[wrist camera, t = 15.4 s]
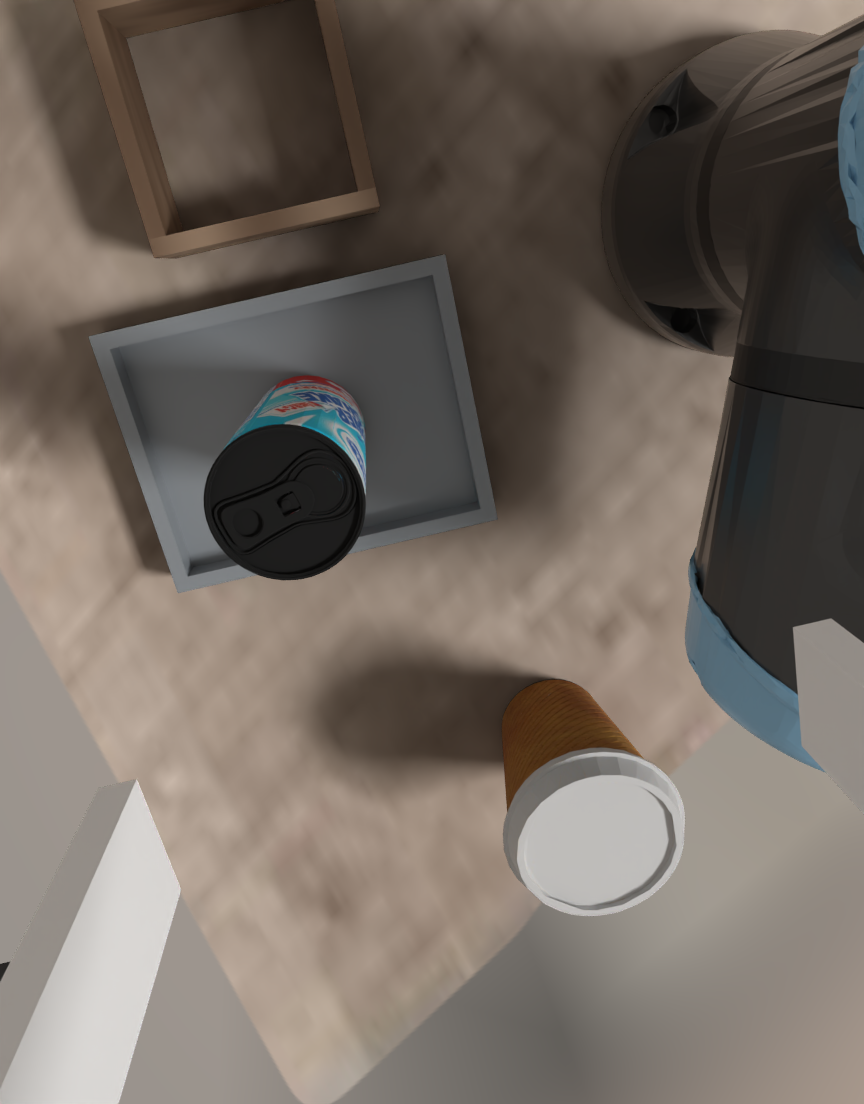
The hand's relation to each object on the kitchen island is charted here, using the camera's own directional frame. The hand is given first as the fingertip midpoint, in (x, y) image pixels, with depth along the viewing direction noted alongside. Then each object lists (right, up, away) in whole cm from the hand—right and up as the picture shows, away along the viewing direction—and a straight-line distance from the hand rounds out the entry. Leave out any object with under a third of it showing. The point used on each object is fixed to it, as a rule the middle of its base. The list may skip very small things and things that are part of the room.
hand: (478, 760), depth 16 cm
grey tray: (-8, +11, +29) cm, 32 cm away
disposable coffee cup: (+7, -7, +37) cm, 38 cm away
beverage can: (-7, +11, +28) cm, 31 cm away
